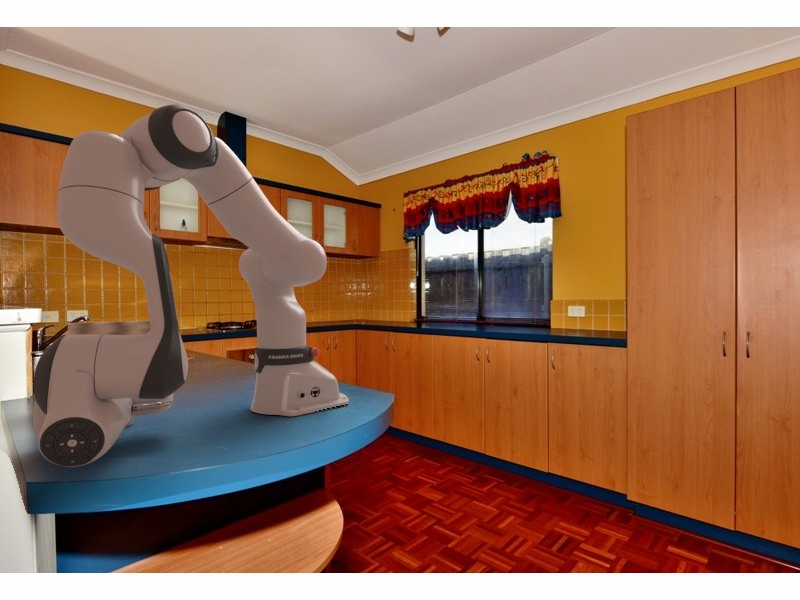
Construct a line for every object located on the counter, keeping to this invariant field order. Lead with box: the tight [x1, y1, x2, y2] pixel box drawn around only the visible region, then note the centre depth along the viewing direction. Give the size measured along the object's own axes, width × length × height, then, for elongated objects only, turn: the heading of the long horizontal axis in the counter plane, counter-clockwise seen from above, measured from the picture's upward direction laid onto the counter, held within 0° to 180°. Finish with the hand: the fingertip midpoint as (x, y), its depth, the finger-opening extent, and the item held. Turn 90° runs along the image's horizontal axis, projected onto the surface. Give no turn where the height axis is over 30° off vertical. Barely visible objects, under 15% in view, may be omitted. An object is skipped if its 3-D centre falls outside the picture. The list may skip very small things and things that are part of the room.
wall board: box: [67, 320, 151, 335], centre depth 101 cm, size 20×2×20 cm, turn 120°
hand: (116, 394), depth 81 cm, fingers open, 8 cm apart
